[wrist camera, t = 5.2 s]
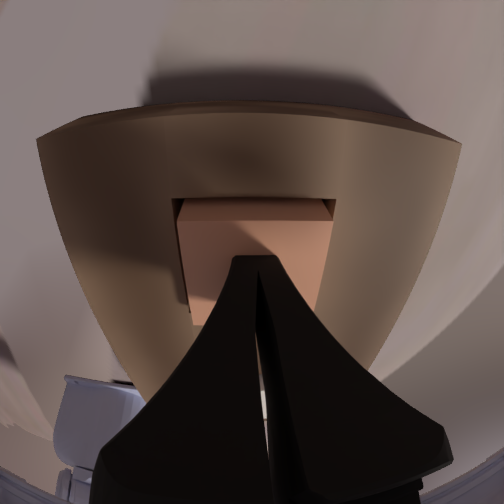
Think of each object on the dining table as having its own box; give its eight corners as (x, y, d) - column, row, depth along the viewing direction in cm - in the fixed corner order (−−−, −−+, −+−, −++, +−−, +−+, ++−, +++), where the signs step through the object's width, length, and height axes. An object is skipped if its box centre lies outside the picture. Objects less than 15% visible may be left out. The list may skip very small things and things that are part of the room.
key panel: (161, 381, 21) (156, 417, 18) (82, 116, 9) (36, 139, 7) (330, 377, 22) (338, 413, 19) (413, 120, 10) (461, 144, 7)
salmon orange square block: (200, 270, 13) (193, 325, 10) (192, 178, 10) (176, 221, 8) (297, 269, 13) (310, 322, 11) (309, 179, 11) (333, 221, 8)
